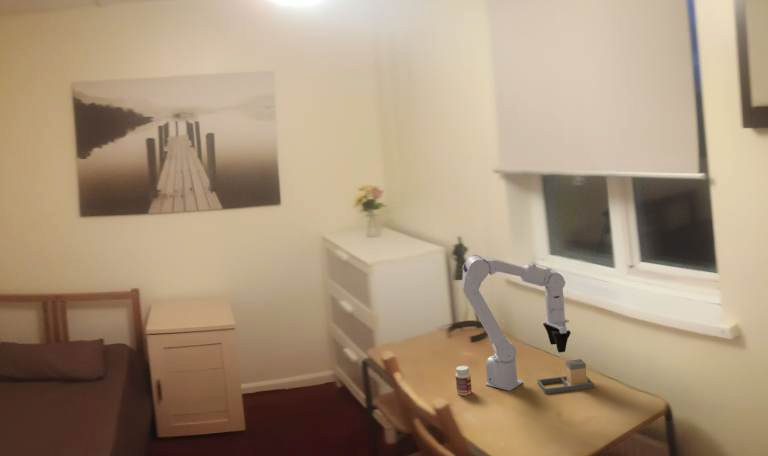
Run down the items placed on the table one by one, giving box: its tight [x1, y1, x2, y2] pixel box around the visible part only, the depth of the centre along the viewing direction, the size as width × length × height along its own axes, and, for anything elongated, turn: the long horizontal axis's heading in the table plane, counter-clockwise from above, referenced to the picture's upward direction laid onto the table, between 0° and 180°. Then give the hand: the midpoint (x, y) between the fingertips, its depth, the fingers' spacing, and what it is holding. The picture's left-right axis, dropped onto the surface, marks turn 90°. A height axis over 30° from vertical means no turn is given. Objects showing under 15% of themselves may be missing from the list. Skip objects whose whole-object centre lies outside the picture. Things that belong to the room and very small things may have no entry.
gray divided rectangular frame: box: [536, 375, 595, 395], centre depth 204 cm, size 16×8×2 cm, turn 92°
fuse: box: [565, 358, 587, 385], centre depth 204 cm, size 5×4×7 cm
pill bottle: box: [455, 365, 473, 396], centre depth 207 cm, size 5×5×8 cm
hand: (557, 347), depth 209 cm, fingers open, 7 cm apart
